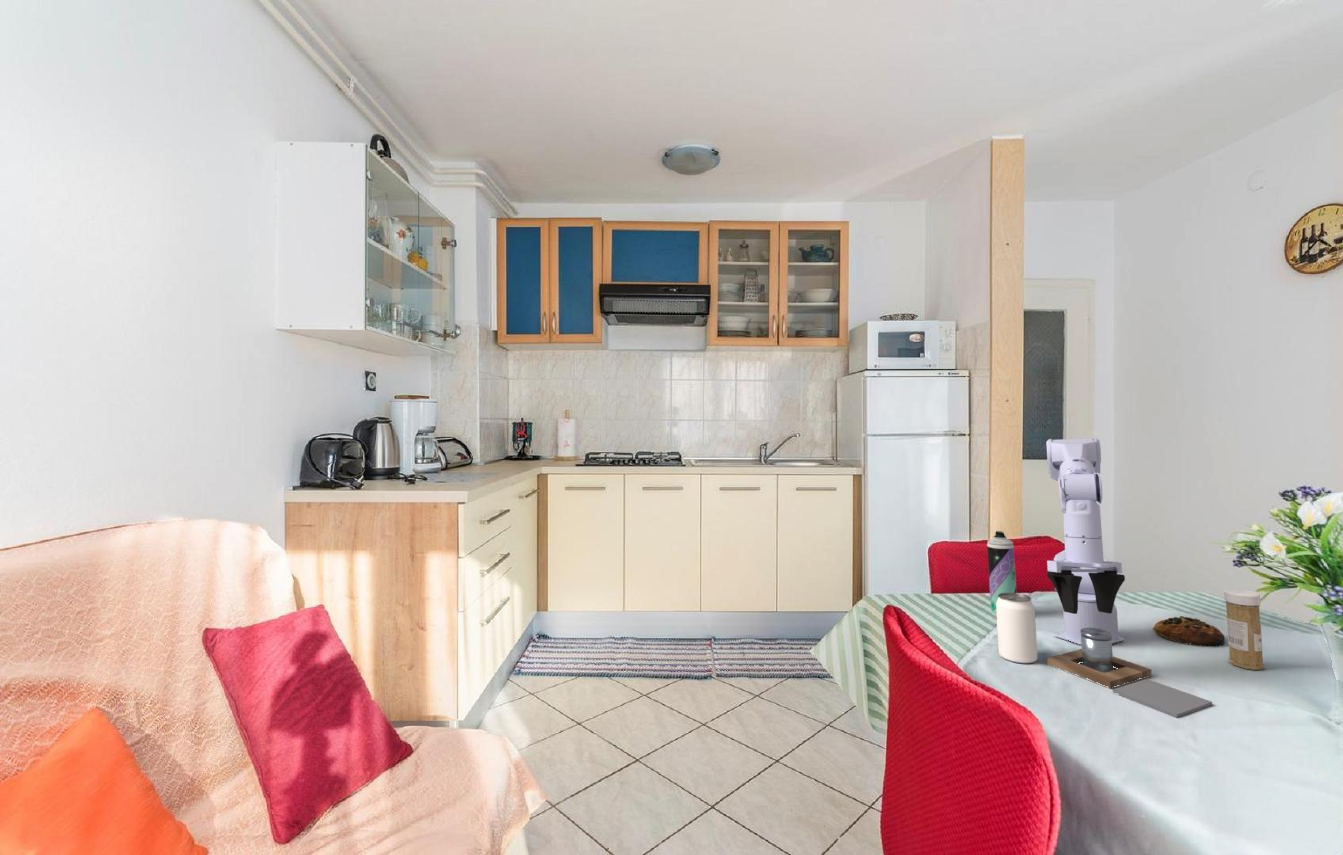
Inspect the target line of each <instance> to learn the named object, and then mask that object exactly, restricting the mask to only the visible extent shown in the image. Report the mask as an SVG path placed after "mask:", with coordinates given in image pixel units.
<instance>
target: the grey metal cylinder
mask: <svg viewBox="0 0 1343 855" xmlns="http://www.w3.org/2000/svg"><path fill="white" fill-rule="evenodd" d="M1080 646H1081V649H1082V662H1083V663H1082V665H1084V666H1086V667H1089V668H1092V669H1094V670H1097V671H1100V672H1102V673H1106V672H1110V671H1113V670H1114V668H1113V656H1114V655H1113V644H1112V637H1111V633H1110V632H1108V631H1105V630H1102V629H1097V628H1082V629H1081V645H1080Z"/></svg>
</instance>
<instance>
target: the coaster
mask: <svg viewBox="0 0 1343 855" xmlns="http://www.w3.org/2000/svg"><path fill="white" fill-rule="evenodd" d="M1113 692H1114V693H1113ZM1112 693H1113V694H1115V693H1118V694H1119V695H1118V694H1117V695H1118V696H1120V695H1121V697H1123V698H1125V697H1127V698H1126V699H1128V698H1129V699H1128V700H1131V701H1134V702H1136V701H1137V702H1136V703H1139V704H1141V705H1144V706H1147V707H1149V708H1151V709H1153V710H1156V711H1157V712H1161V713H1164V714H1166V715H1169V716H1171V717H1174V718H1176V719H1177V718H1179V717H1183V716H1186V715H1189V714H1191V713H1194V712H1197V711H1199V710H1201V709H1205V708H1208V707H1210V706H1213V701H1211V700H1208V699H1206V698H1203V697H1200V696H1197V695H1194V694H1191V693H1189V692H1185V691H1183V690H1180V689H1178V688H1174V687H1172V686H1169V685H1165V684H1163V683H1161V682H1157V681H1155V680H1152V679H1148V678H1144V679H1141V680H1138V681H1134V682H1133V683H1132V682H1131V683H1128V684H1125V685H1122V686H1118V687H1115V688H1112Z"/></svg>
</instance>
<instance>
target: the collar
mask: <svg viewBox="0 0 1343 855" xmlns="http://www.w3.org/2000/svg"><path fill="white" fill-rule="evenodd" d="M1046 660H1047V661H1046V662H1047V665H1048V666H1051V667H1053V666H1055V667H1054V668H1056V667H1057V668H1056V669H1058V668H1060V669H1059V670H1061V669H1062V671H1063V670H1066V671H1068V672H1067V673H1069V672H1070V673H1069V674H1071V673H1073V674H1072V675H1074V674H1077V675H1079V676H1081V677H1083V678H1082V679H1084V678H1088V679H1090V680H1092V681H1094V682H1098V683H1100V684H1102V685H1105V686H1108V687H1109V688H1108V689H1110V688H1111V689H1113V688H1112V687H1114V686H1117V685H1121V686H1123V685H1122V684H1124V683H1127V682H1131V683H1132V681H1134V682H1136V681H1135V680H1137V679H1139V678H1143V679H1145V678H1144V677H1147V676H1150V675H1153V674H1152V668H1149V667H1147V666H1144V665H1143V666H1142V665H1140V664H1137V663H1135V662H1131V661H1128V660H1125V659H1124V658H1123V659H1121V658H1119V657H1117V656H1114V655H1113V666H1114V667H1116V668H1118V669H1113V671H1110V672H1106V673H1102V672H1100V671H1097V670H1094V669H1092V668H1089V667H1086V666H1084V665H1083V664H1078V663H1079V662H1082V648H1079V649H1076V650H1072V651H1069V652H1064V653H1062V654H1056V655H1053V656H1049V657H1047V658H1046ZM1066 671H1065V672H1066ZM1079 676H1078V677H1079ZM1081 677H1080V678H1081ZM1150 677H1151V676H1150ZM1147 678H1148V677H1147ZM1092 681H1091V682H1092ZM1137 681H1138V680H1137ZM1094 682H1093V683H1094ZM1127 684H1128V683H1127ZM1102 685H1101V686H1102ZM1124 685H1125V684H1124ZM1105 686H1104V687H1105Z"/></svg>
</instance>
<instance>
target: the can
mask: <svg viewBox="0 0 1343 855" xmlns="http://www.w3.org/2000/svg"><path fill="white" fill-rule="evenodd" d="M996 612H997V617H996V626H997V627H996V629H997V644H998V654H999V655H1000V658H1002V659H1004V660H1006V661H1008V662H1010V663H1016V664H1022V665H1025V664H1026V665H1027V664H1028V665H1029V664H1033V663H1035V662H1036V661H1037V660H1038V644H1037V643H1038V642H1037V641H1038V640H1037V626H1036V625H1037V624H1036V613H1035V612H1036V611H1035V605H1034V604H1033V602H1032V597H1031V596H1029V595H1026V594H1023V593H1019V592H1018V593H1017V592H1016V593H1000V594H998V600H997V602H996Z"/></svg>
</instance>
